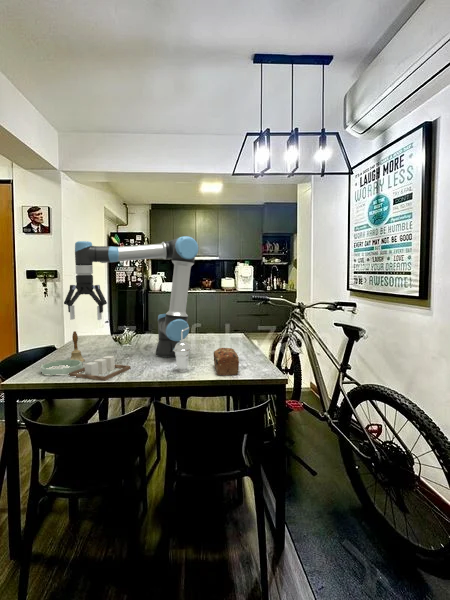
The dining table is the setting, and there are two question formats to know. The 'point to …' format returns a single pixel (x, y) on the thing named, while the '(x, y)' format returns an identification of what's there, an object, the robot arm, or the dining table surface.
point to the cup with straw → (182, 354)
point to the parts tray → (100, 376)
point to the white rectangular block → (91, 368)
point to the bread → (226, 361)
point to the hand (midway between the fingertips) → (86, 319)
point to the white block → (102, 365)
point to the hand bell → (76, 349)
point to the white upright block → (110, 362)
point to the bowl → (73, 367)
